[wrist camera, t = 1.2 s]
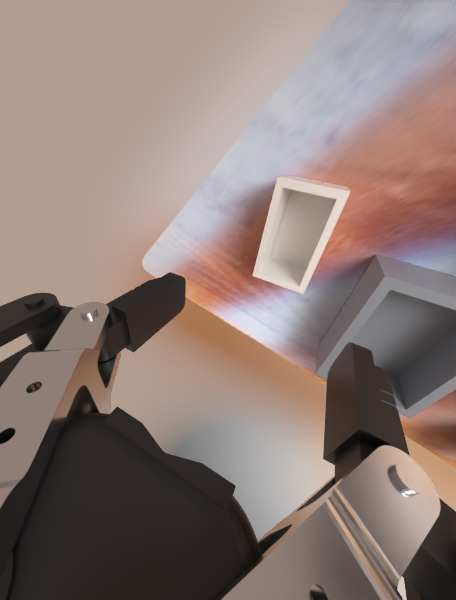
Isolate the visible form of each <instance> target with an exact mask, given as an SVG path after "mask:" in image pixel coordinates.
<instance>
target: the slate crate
mask: <svg viewBox="0 0 456 600" xmlns="http://www.w3.org/2000/svg"><path fill="white" fill-rule="evenodd" d="M349 342H351V343H354V344H357V345H359V346H362V347H364V348H367V349H369V350H371V351H372V355H373V360H374V365H375V366H378V367H380V368H382V370H383V371H384V373H385V374H386V376H387V377H388V379H389V380H390V382H391V386H392V390H393V397H394V398H395V402H396V408H397V409H398V413H400V414H402V415H404V416H407V417H409V418H411V417H413V416H414V415H416V414H417V413H419V412H421V411H422V410H424V409H425V408H427V407H428V406H430V405H432V404H433V403H435V402H436V401H438V400H439V399H441V398H443V397H444V396H446V395H447V394H449V393H451V392H452V391H454V390H455V389H456V276H452V275H448V274H445V273H441V272H438V271H434V270H430V269H427V268H423V267H420V266H416V265H412V264H409V263H405V262H402V261H398V260H394V259H391V258H387V257H384V256H380V255H375V257H374V258H373V260H372V261H371V263H370V264H369V266H368V268H367V269H366V271H365V272H364V274H363V276H362V277H361V279H360V280H359V282H358V283H357V285H356V287H355V288H354V290H353V291H352V293H351V294H350V296H349V298H348V299H347V301H346V302H345V304H344V306H343V307H342V309H341V310H340V312H339V313H338V315H337V317H336V318H335V320H334V321H333V323H332V324H331V326H330V328H329V329H328V331H327V332H326V334H325V336H324V337H323V339H322V340H321V342H320V343H319V348H318V356H317V364H316V372H315V374H316V375H318V376H320V377H322V378H324V379H326V380H327V377H328V372H329V370H330V367H331V365H332V364H333V362H334V361H335V360H336V358H337V357H338V355H339V354H340V353H341V351H342V350H343V349H344V347H345V346H346V345H347V343H349Z"/></svg>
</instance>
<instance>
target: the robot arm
mask: <svg viewBox="0 0 456 600" xmlns="http://www.w3.org/2000/svg"><path fill="white" fill-rule="evenodd" d="M185 284H186V282H185V278H184V277H182V276H179V275H176V274H174V273H168V274H166V275H164V276H163V277H161V278H157V279H153V280H149V281H147V282H145V283H144V284H142V285H141V286H138V287H136V288H135V289H134V290H131V291H129V292H128V293H126V294H124V295H122V296H120V297H118V298H117V299H115V300H113V301H111V302H109V303H108V304H103V303H99V302H90V303H85V304H82V305H79V306H77V307H75V308H72V307H66V306H60V304H59V302H58V300H57V298H56V296H55V295H53V294H50V293H36V294H31V295H28V296H24V297H22V298H19V299H17V300H15V301H12V302H10V303H7V304H5V305H3V306H0V347H1V346H3V345H5V344H7V343H8V342H10V341H12V340H14V339H16V338H18V337H19V336H21V335H23V334H25V333H26V334H27V336H28V337H29V339H30V341H31V343H32V344H31V345H29V346H28V347H26V348H24V349H22V350H21V351H19V352H17V353H15V354H14V355H12V356H10V357H9V358H7V359H5V360H4V361H2V362H0V600H402V597H401V595H400V594H399V592H398V591H397V585H398V582H399V580H400V578H401V576H403V577H404V581H405V589H406V597H407V600H456V512H455V511H454V510H453V509H452V508H451V507H449V506H448V505H447V504H445V503H444V502H443V501H442V500H441V499H440V498H439V496H438V493H437V491H436V488H435V486H434V485H433V483H432V481H431V479H430V478H429V476H428V475H427V474H426V473H425V471H424V470H423V469H422V467H420V465H419V464H418V463H417V462H416V461H415V460H414V459H413V458H411V457H410V456H409V452H408V448H407V444H406V441H405V437H404V433H403V429H402V425H401V421H400V417H399V413H398V409H397V408H396V402H395V398H394V397H393V390H392V386H391V382H390V380H389V379H388V377H387V376H386V374H385V373H384V371H383V370H382V368H380V367H378V366H375V365H374V360H373V355H372V351H371V350H369V349H367V348H364V347H362V346H359V345H357V344H354V343H351V342H349V343H347V345H346V346H345V347H344V349H343V350H342V351H341V353H340V354H339V355H338V357H337V358H336V360H335V361H334V362H333V364H332V365H331V367H330V370H329V372H328V377H327V394H326V415H325V416H326V417H325V435H324V456H323V457H324V458H323V459H325V460H327V461H328V462H330V463H332V464H334V465H335V476H334V477H332V478H331V479H330V480H329V481H328V482H326V483H325V484H324V485H323V486H322V487H321V488H320V489H318V490H317V491H316V492H315V493H314V494H313V495H312V496H311V497H310V498H308V499H307V500H306V501H305V502H304V503H303V504H301V505H300V506H299V507H298V508H297V509H296V510H295V511H293V512H292V513H291V514H290V515H289V516H287V517H286V518H284V519H283V520H282V521H281V522H279V523H278V524H277V525H276V526H275V527H273V528H272V529H271V530H270V531H269V532H267V533H266V534H265V535H264V536H263V537H262V538H261V539H260V540H258V541H257V539H256V536H255V533H254V531H253V528H252V526H251V524H250V522H249V520H248V518H247V516H246V514H245V512H244V510H243V509H242V507H241V506H240V504H239V503H238V501H237V500H236V499H235V498H234V496H233V492H234V490H235V485H233V484H232V483H231V482H229V481H228V480H226V479H225V478H223V477H222V476H220V475H219V474H217V473H216V472H214V471H213V470H211V469H210V468H208V467H207V466H205V465H204V464H202V463H199V462H195V461H191V460H188V459H184V458H180V457H177V456H173V455H170V454H167V453H165V452H163V451H162V449H161V448H160V447H159V445H158V444H157V443H156V441H155V440H154V439H153V437H152V436H151V435H150V433H149V432H148V430H147V429H146V428H145V426H144V425H143V424H142V423H141V422H139V421H138V420H137V419H135V418H133V417H132V416H131V415H129V414H128V413H126V412H124V411H123V410H122V409H120V408H119V407H116V408H115V410H114V411H113V412H112V413H111V414H110V410H111V391H112V387H113V383H114V379H115V376H116V371H117V368H118V364H119V360H120V357H121V352H120V351H121V350H122V349H124V348H127V349H128V350H130V351H132V352H135V351H136V350H137V349H138V348H139V347H140V346H142V345H143V344H144V343H145V342H146V341H147V340H149V339H150V338H151V337H152V336H153V335H154V334H155V333H157V332H158V331H159V330H160V329H161V328H162V327H164V326H165V325H166V324H167V323H168V322H169V321H170V320H172V319H173V318H174V317H175V316H176V315H177V314H179V313H180V312H181V311H182V309H183V307H184V304H185Z"/></svg>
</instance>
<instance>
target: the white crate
mask: <svg viewBox="0 0 456 600" xmlns="http://www.w3.org/2000/svg"><path fill="white" fill-rule="evenodd" d="M349 194H350V190H349V187H345V186H340V185H335V184H330V183H325V182H321V181H316V180H311V179H306V178H301V177H296V176H291V175H290V176H278V177H277V180H276V184H275V188H274V192H273V196H272V200H271V204H270V208H269V212H268V216H267V220H266V224H265V228H264V232H263V236H262V240H261V244H260V248H259V252H258V256H257V260H256V264H255V268H254V271H253V275H252V276H254V277H257V278H260V279H262V280H265V281H268V282H271V283H273V284H276V285H279V286H282V287H284V288H287V289H290V290H293V291H296V292H298V293H301V294H304V292H305V290H306V288H307V285H308V283H309V281H310V279H311V277H312V275H313V272H314V270H315V268H316V266H317V264H318V261H319V259H320V257H321V255H322V253H323V251H324V248H325V246H326V244H327V242H328V240H329V237H330V235H331V233H332V231H333V229H334V227H335V224H336V222H337V220H338V218H339V216H340V213H341V211H342V209H343V207H344V205H345V203H346V200H347V198H348V196H349Z"/></svg>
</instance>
